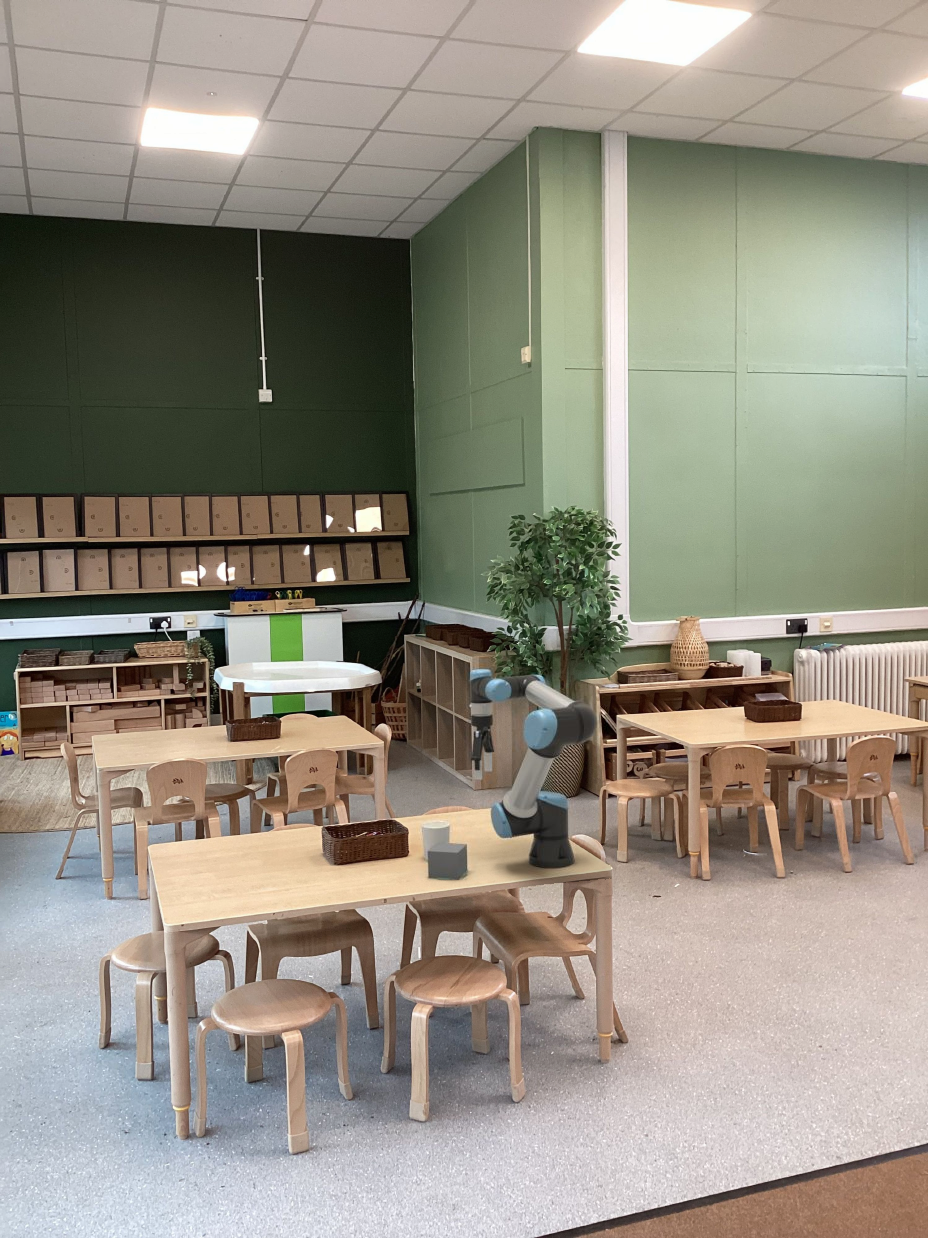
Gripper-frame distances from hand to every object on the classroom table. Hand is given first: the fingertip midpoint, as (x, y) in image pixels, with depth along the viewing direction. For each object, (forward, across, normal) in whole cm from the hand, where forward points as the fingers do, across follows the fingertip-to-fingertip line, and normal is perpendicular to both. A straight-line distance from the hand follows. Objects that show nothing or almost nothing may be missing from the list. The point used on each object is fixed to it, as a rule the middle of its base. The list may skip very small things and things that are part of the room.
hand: (483, 775), depth 374 cm
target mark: (+27, +28, -5) cm, 39 cm away
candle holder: (+27, +12, -14) cm, 33 cm away
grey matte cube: (+27, +28, -5) cm, 39 cm away
